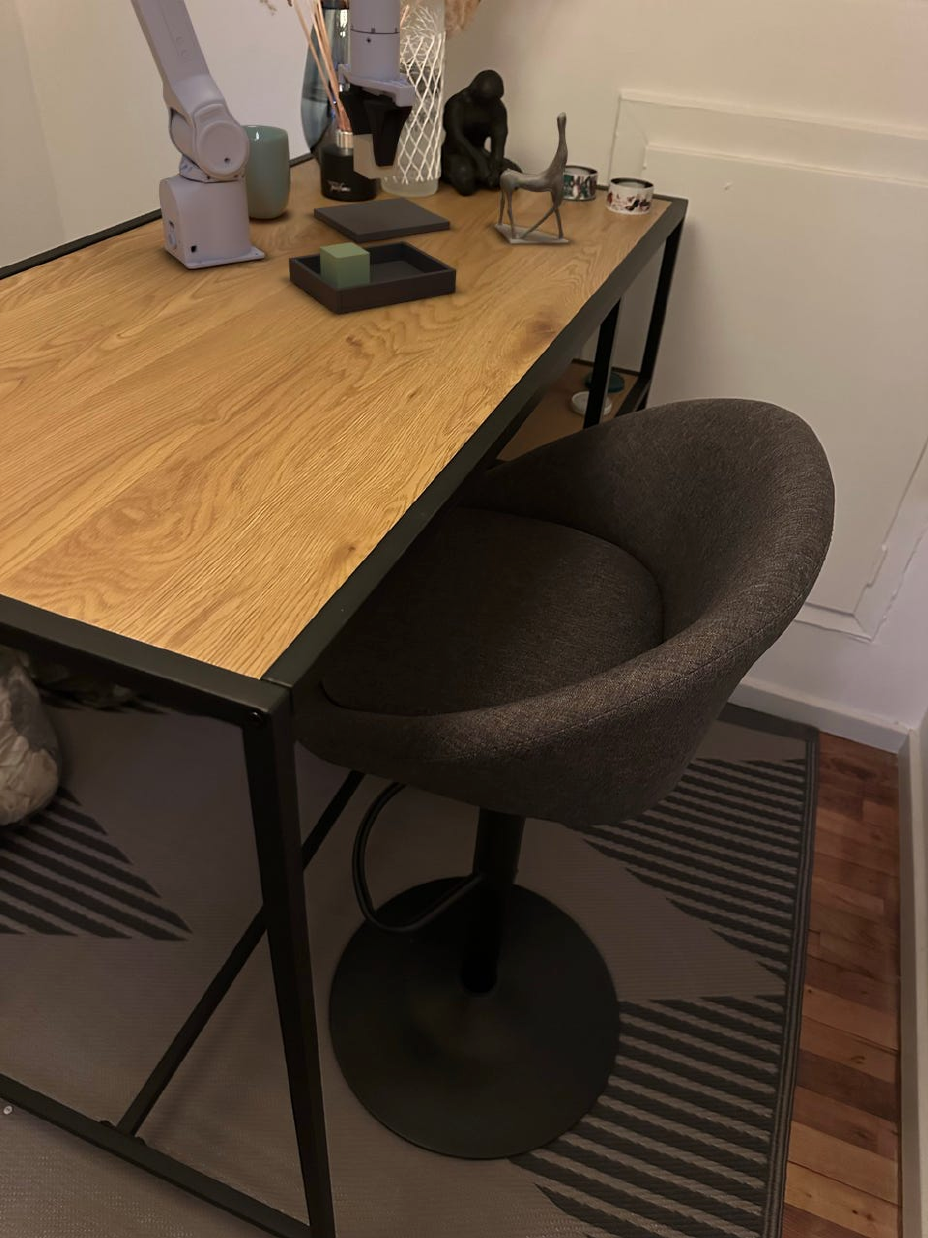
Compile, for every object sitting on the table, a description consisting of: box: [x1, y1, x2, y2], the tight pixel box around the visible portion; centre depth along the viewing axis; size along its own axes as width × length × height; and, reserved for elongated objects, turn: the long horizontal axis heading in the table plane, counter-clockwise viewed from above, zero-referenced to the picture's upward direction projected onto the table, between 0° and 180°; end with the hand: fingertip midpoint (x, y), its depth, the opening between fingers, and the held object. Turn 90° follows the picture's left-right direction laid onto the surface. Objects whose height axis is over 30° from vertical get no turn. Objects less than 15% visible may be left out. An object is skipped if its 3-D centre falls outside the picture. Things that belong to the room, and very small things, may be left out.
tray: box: [288, 240, 458, 315], centre depth 102 cm, size 15×11×2 cm
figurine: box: [493, 112, 569, 245], centre depth 115 cm, size 11×6×15 cm, turn 57°
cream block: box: [352, 134, 399, 180], centre depth 111 cm, size 4×4×4 cm
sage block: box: [319, 241, 370, 288], centre depth 100 cm, size 4×4×4 cm
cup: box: [241, 124, 292, 220], centre depth 117 cm, size 8×8×10 cm
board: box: [313, 197, 451, 243], centre depth 121 cm, size 14×12×1 cm
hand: (375, 160), depth 111 cm, fingers closed on cream block, 4 cm apart
